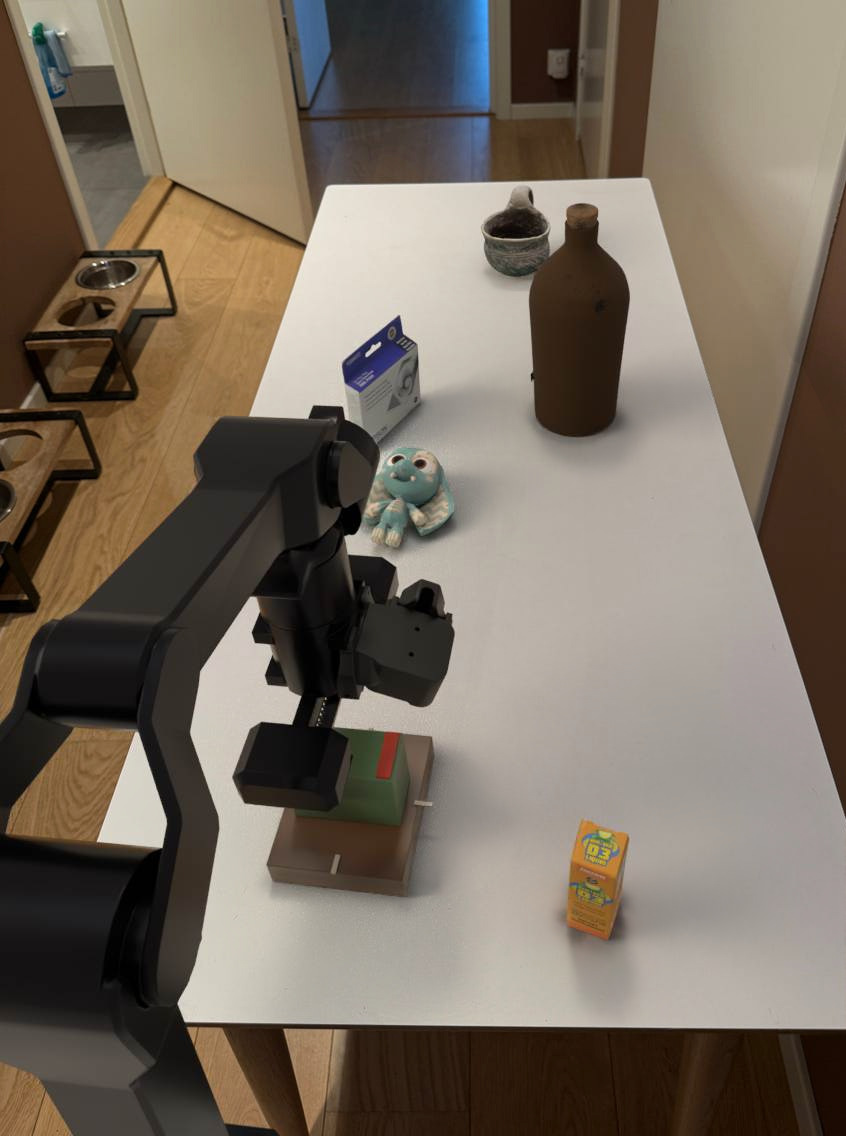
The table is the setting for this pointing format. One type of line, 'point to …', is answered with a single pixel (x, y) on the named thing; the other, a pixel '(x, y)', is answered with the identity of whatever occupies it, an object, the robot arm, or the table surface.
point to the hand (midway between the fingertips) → (341, 743)
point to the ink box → (382, 380)
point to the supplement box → (596, 878)
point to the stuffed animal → (408, 495)
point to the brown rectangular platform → (356, 840)
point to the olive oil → (578, 330)
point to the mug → (517, 236)
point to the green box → (372, 779)
